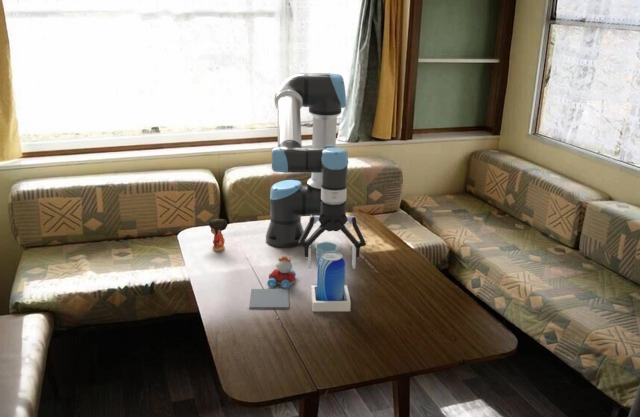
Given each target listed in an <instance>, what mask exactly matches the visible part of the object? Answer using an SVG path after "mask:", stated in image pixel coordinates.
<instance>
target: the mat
mask: <svg viewBox="0 0 640 417" xmlns="http://www.w3.org/2000/svg"><path fill="white" fill-rule="evenodd" d="M289 290H290V289H289V288H288V289H283V288H251V290H250V298H249V310H253V309H254V310H267V309H268V310H273V309H274V310H279V309H280V310H288V309H290V301H289V300H290V299H289V294H290V292H289Z"/></svg>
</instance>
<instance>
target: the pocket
mask: <svg viewBox="0 0 640 417" xmlns="http://www.w3.org/2000/svg"><path fill="white" fill-rule="evenodd" d="M310 286H311V288H310V295H311V309H312V312H351V305H352V304H351V303H352V301H351V298H350V293H349V288H348V287H349V286H348V285H347V284H344V300H343V301H318V300H317V284H316V285H313V284H311V285H310Z"/></svg>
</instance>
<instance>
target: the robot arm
mask: <svg viewBox="0 0 640 417" xmlns="http://www.w3.org/2000/svg"><path fill="white" fill-rule="evenodd" d="M345 87H346V86H345V81H344V78H343V76H342V75H341V74H339V73H330V72H329V73H326V72H325V73H324V72H318V73H317V72H316V73H314V72H313V73H310V72H307V73H304V72H299V73H294V74H291V75H290V76H287V77H286V79H284V80H283V81H282V82H281V83H280V85H278V87H277V89H276V92H275V93H274V94H275V95H274V106H275V108H276V109H277V147H273V148H272V149H271V170H272V172H274V173H284V174H287V173H293V174H294V173H311V177H310V178H308V179H307V182H306V183H307V184H304V185H303V184H302V182H301V181H300V180H297V179H296V180H295V179H286V180H280V181H278V182H276V183H274V184H273V185H272V186H271V187H270V195H269V199H270V208H269V209H270V215H269V216H270V221H269V225H268V228H267V230H266V234H265V242H266V243H267V244H268V245H269V246H272V247H275V248H276V247H277V248H283V249H284V248H286V249H287V248H289V249H291V248H296V247H303V248H304V251H303V252H304V254H303V255H304V258H307V269H311V268H312V267H311V266H312V265H311V264H312V246H311V245H312V244H313V243H314V242H315V241H316V240H317V239H318V238H319V237H320V236H321V234H323V233H324V232H325V231H327V232H333V231H334V232H339V231H341V232H342V234H344V235H345V236H346V237H347V239H348V240H349V241H350V242H351V243H352V250H351V252H352V253H351V254H352V256H351V268H352V269H356V263H357V262H356V258H359V257H360V251H361V250H360V249H361V248H362V247H366V246H367V244H366V240H365V238H364V236H363V233H362V232H361V229H360V227H359V225H358V223H357V217H356V215H355V214H352V215H351V216H347V202H346V200H347V193H348V192H347V190H348V189H347V188H348V186H347V183H348V182H347V181H348V167H349V166H348V164H349V153H348V151H347V150H346V149H344V148H342V147H337V146H336V144H337V122H338V121H337V120H338V116H340V115H341V114H342V109H344V108H346V107H347V97H346V96H347V94H346V88H345ZM302 107H303V108H308V112H309V114H310V115H311V116H312V139H311V140H312V142H311V143H312V144H311V147H303V144H302V123H301V122H302V121H301V109H302ZM303 216H305V217H307V216H309V220H308V221H309V222H308V223H307V224H306V227H305V229H304V228H303V225H302V224H303V223H302V219H301V218H302V217H303ZM317 222H319V224H320V225H319V226H318V227H317V229H316V230H315V231H314V232H313V233H312V234H311V235H310V236H309V234H310V232H311V231H312V229H313V227H314V225H315V224H317ZM347 222H348V223H349V224H351V225H352V227H353V229H354V232H355V233H356V235H357V237H358V240H359V241H358V240H357V239H356V238H355V236H354V235H353V234H352V233H351V231H350V229H348V228H347V227H346V224H347ZM308 236H309V237H308Z"/></svg>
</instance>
